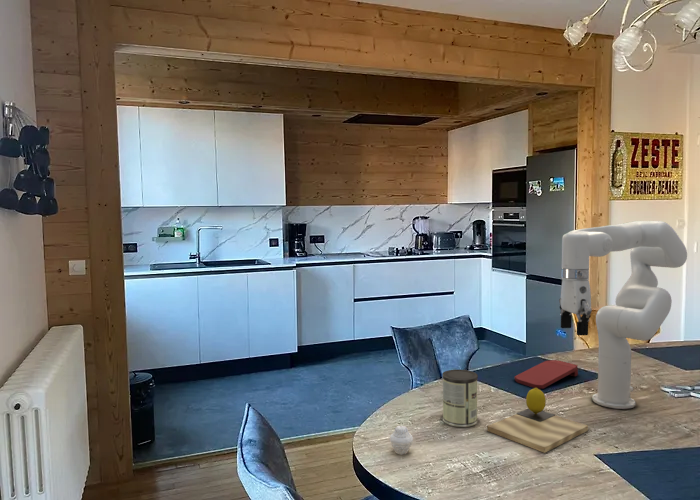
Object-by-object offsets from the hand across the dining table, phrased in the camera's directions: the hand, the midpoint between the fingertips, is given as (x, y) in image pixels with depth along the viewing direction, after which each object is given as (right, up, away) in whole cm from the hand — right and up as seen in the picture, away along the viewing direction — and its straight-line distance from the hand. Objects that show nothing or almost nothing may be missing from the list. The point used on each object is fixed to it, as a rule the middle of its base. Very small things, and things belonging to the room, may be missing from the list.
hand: (573, 331), depth 159 cm
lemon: (-11, -25, 0) cm, 27 cm away
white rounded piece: (-54, -29, -20) cm, 64 cm away
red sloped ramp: (+7, -24, +39) cm, 46 cm away
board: (-14, -27, -8) cm, 31 cm away
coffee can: (-34, -27, 0) cm, 43 cm away
